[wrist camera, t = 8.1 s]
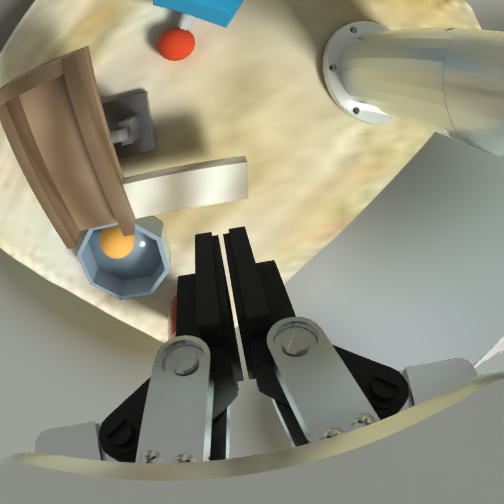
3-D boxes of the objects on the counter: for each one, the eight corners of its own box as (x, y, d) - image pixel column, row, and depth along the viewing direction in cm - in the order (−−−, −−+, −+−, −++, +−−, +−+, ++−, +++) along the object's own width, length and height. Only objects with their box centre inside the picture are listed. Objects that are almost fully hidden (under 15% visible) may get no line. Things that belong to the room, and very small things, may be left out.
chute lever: (239, 16, 15) (254, 20, 12) (244, 187, 27) (255, 221, 24) (2, 85, 12) (-28, 108, 9) (64, 224, 25) (55, 259, 22)
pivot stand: (147, 92, 23) (137, 93, 18) (156, 148, 26) (149, 163, 22) (43, 124, 22) (17, 136, 17) (55, 175, 25) (33, 195, 20)
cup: (157, 198, 29) (154, 212, 27) (176, 272, 35) (176, 290, 32) (76, 217, 28) (66, 232, 25) (104, 284, 34) (99, 303, 31)
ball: (134, 259, 27) (141, 250, 31) (125, 220, 26) (134, 215, 30) (99, 266, 27) (110, 256, 30) (90, 228, 26) (102, 222, 29)
